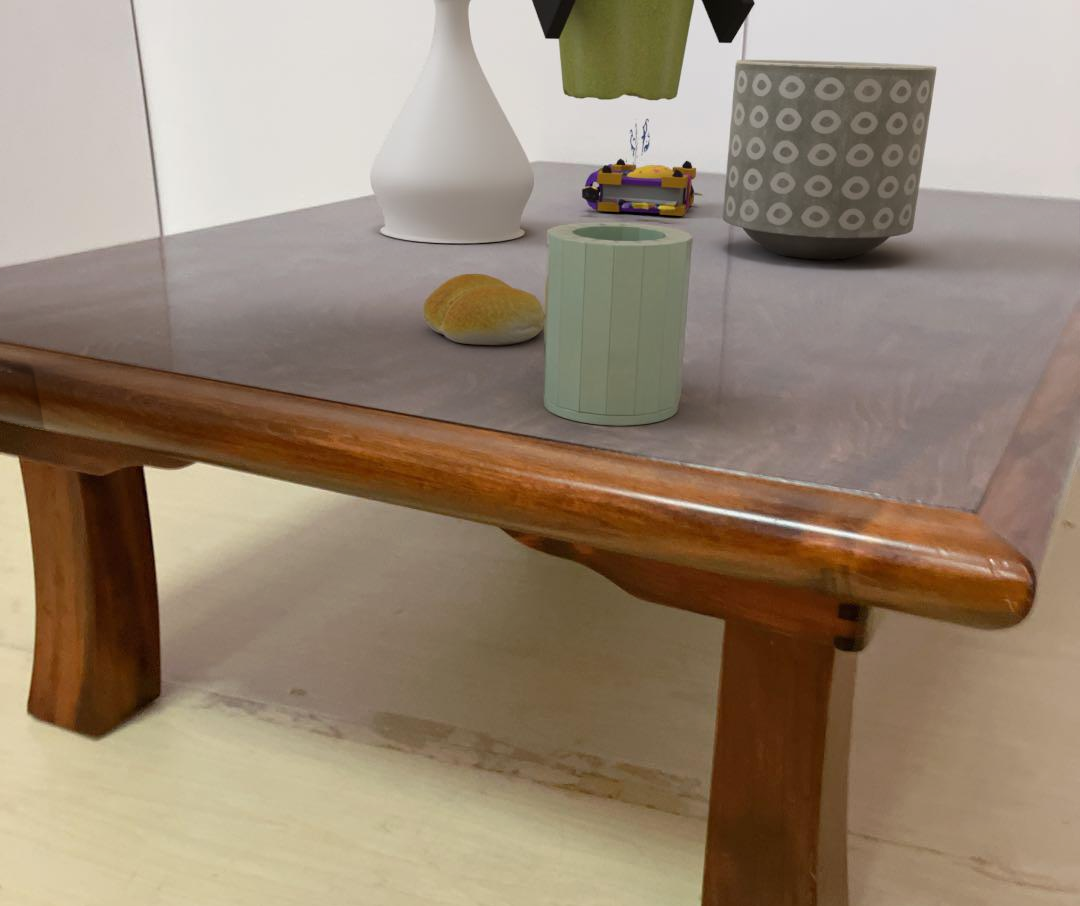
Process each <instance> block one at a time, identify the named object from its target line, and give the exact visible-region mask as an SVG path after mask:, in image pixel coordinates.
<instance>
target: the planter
mask: <svg viewBox="0 0 1080 906" xmlns="http://www.w3.org/2000/svg"><path fill="white" fill-rule="evenodd" d="M734 68H735V69H734V79H733V80H734V81H733V89H732V90H733V91H732V92H733V93H732V104H731V116H730V125H729V139H728V149H727V150H728V151H727V160H726V173H725V184H724V196H723V207H722V208H723V209H722V221H724V222H725V223H726V224H729V225H732V226H734V227H739V228H741V229H743V231H744V232H745V233H746V235H747V236H749V238H750V239H752V240H753V241H754V242H756V243H757V244H759V245H760V246H762V247H764V248H765V249H767V250H769V251H771V252H773V253H775V254H778V255H781V256H785V257H791V258H796V259H805V260H820V261H821V260H822V261H825V260H827V261H828V260H829V261H831V260H833V261H834V260H845V259H850V258H853V257H856V256H859V255H862V254H864V253H866V252H869V251H871V250H873V249H875V248H877V247H879V246H880V245H882V244H883V243H885V242H886V241H887V240H888V239H890V238H892V237H899V236H902V235H906V234H910V233H911V232H913V230H914V225H915V217H916V210H917V205H918V198H919V197H918V196H919V191H920V184H921V183H920V182H921V178H922V177H921V176H922V170H923V163H924V158H925V157H924V156H925V149H926V144H927V137H928V130H929V122H930V116H931V111H932V103H933V96H934V91H935V82H936V77H937V69H938V68H937V66H935V65H923V64H908V63H886V62H858V61H829V60H828V61H827V60H798V59H797V60H793V59H791V60H790V59H737V60H736V61H735V66H734Z"/></svg>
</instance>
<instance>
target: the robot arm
mask: <svg viewBox="0 0 1080 906" xmlns="http://www.w3.org/2000/svg"><path fill="white" fill-rule="evenodd" d="M531 1H532V4H533V7H534V10H535V13H536V17H537V19H538V21H539V24H540V27H541V30H542V33H543V36H544V38H545V39H546V40H549V39H550V40H559V38H560V36H561V33H562V31H563V29H564V26H565V24H566V22H567V19H568V17H569V15H570V12H571V10H572V8H573V5H574V3H575V1H576V0H531ZM701 2H702V4H703V8H704V10H705V12H706V15H707V17H708V19H709V22H710V24H711V26H712V30H713V31H714V34H715V37H716V39H717V41H718V43H719V44H732V43H733V41H734V39H735V38H736V36H737V35H738V33H739V31H740V29H741V28H742V26H743V24H744V22H745V21H746V19H747V18H748V16H749V14H750V13H751V11H752V9H753V7H754V6H755V0H701Z"/></svg>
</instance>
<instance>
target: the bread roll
mask: <svg viewBox="0 0 1080 906" xmlns="http://www.w3.org/2000/svg"><path fill="white" fill-rule="evenodd" d="M422 312H423V316H424V319H425V321H426V323H427V325H428V327H429V328H430V329H431V330H432V331H434V332H435V333H438V334H440V335H444V337H445V338H446V339H448V340H451V341H453V342H454V343H458V344H467V345H477V346H478V345H480V346H481V345H483V346H505V345H506V346H507V345H514V344H515V345H516V344H519V343H523V342H527V341H529V340H531V339H532V338H534V337H536V336H537V335H538V334H539V333H541V331H542V330H544V326H545V310H544V308H543V305H542V303H541V302H540V300H539V298H538V297H537V296H536V295H534V294H532V293H529V292H527V291H524V290H522V289H518V288H515V287H512V286H511V285H510V284H508V283H507V282H505V281H502V280H501V279H499V278H496V277H493V276H490V275H487V274H483V273H465V274H460V275H456V276H454V277H451V278H449V279H448V280H446V281H445V282H443V283H441V284H440V285H439V286H438V287H437V288H436V289H434V290H433V291H432V292H431V293H430V294H429V296H428V297H427V298H426V300H425V301H424V305H423V309H422Z"/></svg>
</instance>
